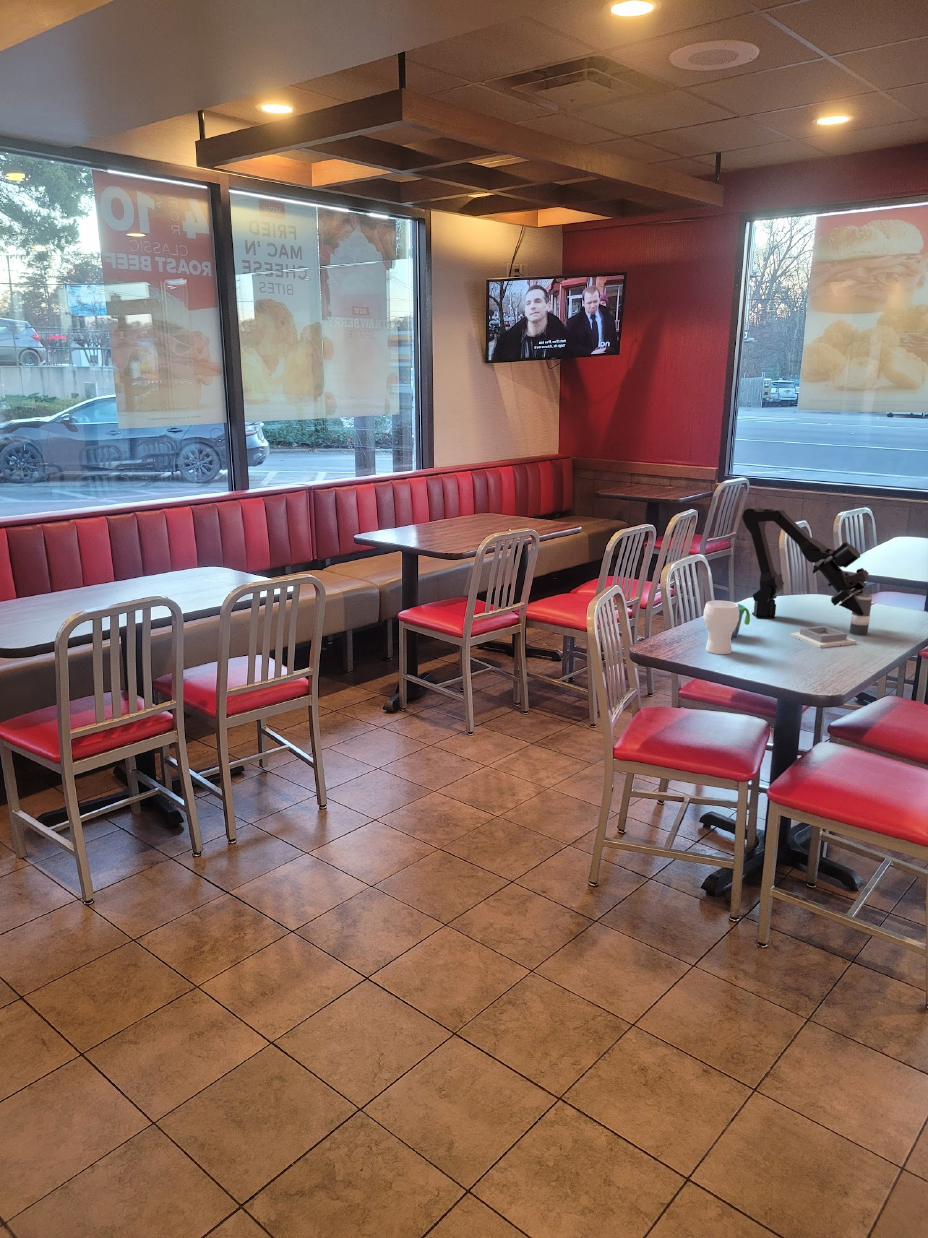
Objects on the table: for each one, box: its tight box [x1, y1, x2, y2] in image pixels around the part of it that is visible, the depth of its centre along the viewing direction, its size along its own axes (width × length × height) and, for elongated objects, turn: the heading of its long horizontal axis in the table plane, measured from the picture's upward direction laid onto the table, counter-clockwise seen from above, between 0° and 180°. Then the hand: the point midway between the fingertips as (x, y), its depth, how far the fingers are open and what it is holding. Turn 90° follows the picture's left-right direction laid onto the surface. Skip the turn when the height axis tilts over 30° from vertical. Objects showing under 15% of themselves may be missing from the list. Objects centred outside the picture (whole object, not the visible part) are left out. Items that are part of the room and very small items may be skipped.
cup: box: [703, 600, 739, 655], centre depth 278 cm, size 11×11×15 cm
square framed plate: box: [790, 625, 857, 649], centre depth 291 cm, size 14×14×3 cm
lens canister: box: [849, 592, 873, 636], centre depth 297 cm, size 6×6×13 cm
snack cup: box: [703, 602, 751, 638], centre depth 295 cm, size 16×10×10 cm
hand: (865, 613), depth 296 cm, fingers closed on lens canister, 5 cm apart
